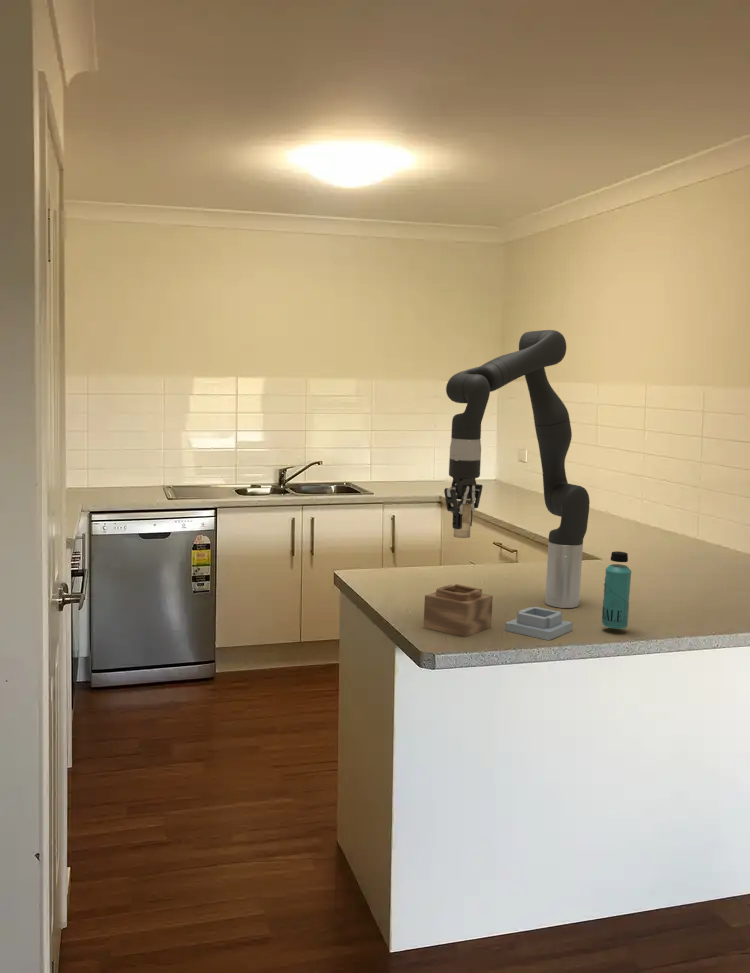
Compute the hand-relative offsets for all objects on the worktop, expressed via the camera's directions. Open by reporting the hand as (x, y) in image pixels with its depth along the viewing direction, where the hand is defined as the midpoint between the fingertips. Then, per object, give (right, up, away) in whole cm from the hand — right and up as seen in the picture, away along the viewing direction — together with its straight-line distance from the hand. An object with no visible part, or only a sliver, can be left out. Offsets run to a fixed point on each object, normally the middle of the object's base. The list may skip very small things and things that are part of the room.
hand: (462, 527), depth 232 cm
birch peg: (0, -2, 0) cm, 2 cm away
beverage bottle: (+38, -26, +5) cm, 47 cm away
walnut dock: (-1, -25, +3) cm, 25 cm away
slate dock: (+19, -26, +3) cm, 32 cm away
